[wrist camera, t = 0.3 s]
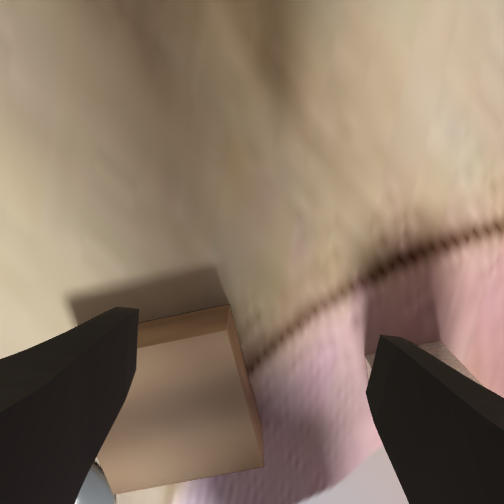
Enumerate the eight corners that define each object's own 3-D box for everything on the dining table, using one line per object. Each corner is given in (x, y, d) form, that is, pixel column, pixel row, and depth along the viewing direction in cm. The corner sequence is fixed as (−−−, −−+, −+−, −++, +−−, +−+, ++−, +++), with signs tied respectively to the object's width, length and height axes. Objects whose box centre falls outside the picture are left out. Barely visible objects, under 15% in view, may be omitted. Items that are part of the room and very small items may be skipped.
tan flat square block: (262, 427, 24) (264, 466, 21) (129, 452, 25) (113, 494, 22) (229, 304, 22) (226, 330, 19) (81, 335, 22) (56, 365, 19)
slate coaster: (133, 533, 27) (130, 541, 26) (15, 554, 27) (10, 563, 27) (89, 434, 24) (86, 442, 24) (-40, 459, 25) (-47, 467, 24)
